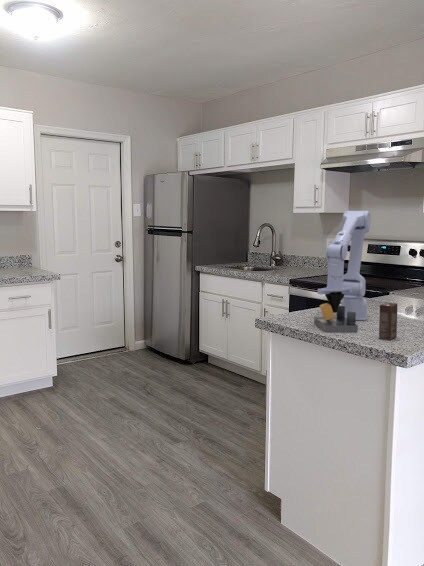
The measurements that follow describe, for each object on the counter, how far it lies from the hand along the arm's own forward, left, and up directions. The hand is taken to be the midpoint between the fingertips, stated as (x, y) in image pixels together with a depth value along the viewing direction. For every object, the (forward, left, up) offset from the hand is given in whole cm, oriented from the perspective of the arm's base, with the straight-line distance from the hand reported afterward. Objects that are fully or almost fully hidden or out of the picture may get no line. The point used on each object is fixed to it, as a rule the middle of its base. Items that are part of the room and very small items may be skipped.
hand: (333, 312), depth 183 cm
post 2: (-5, +6, -4) cm, 8 cm away
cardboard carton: (+1, 0, -3) cm, 4 cm away
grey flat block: (-1, 0, -6) cm, 6 cm away
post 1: (-5, -6, -4) cm, 8 cm away
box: (-14, +16, -6) cm, 22 cm away
